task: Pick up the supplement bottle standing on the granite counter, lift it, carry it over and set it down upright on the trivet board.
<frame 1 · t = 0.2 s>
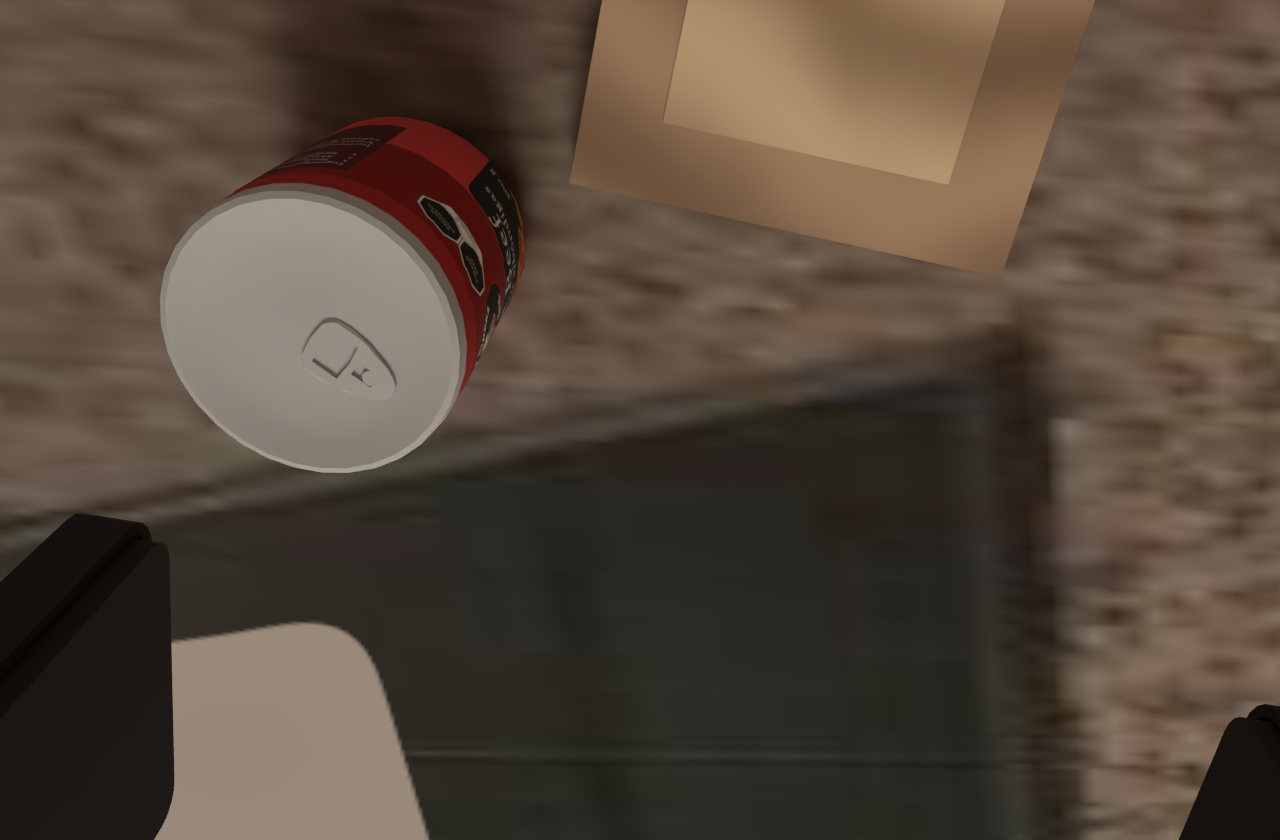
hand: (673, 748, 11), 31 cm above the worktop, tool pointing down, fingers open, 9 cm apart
canned food: (416, 226, 41), on the worktop
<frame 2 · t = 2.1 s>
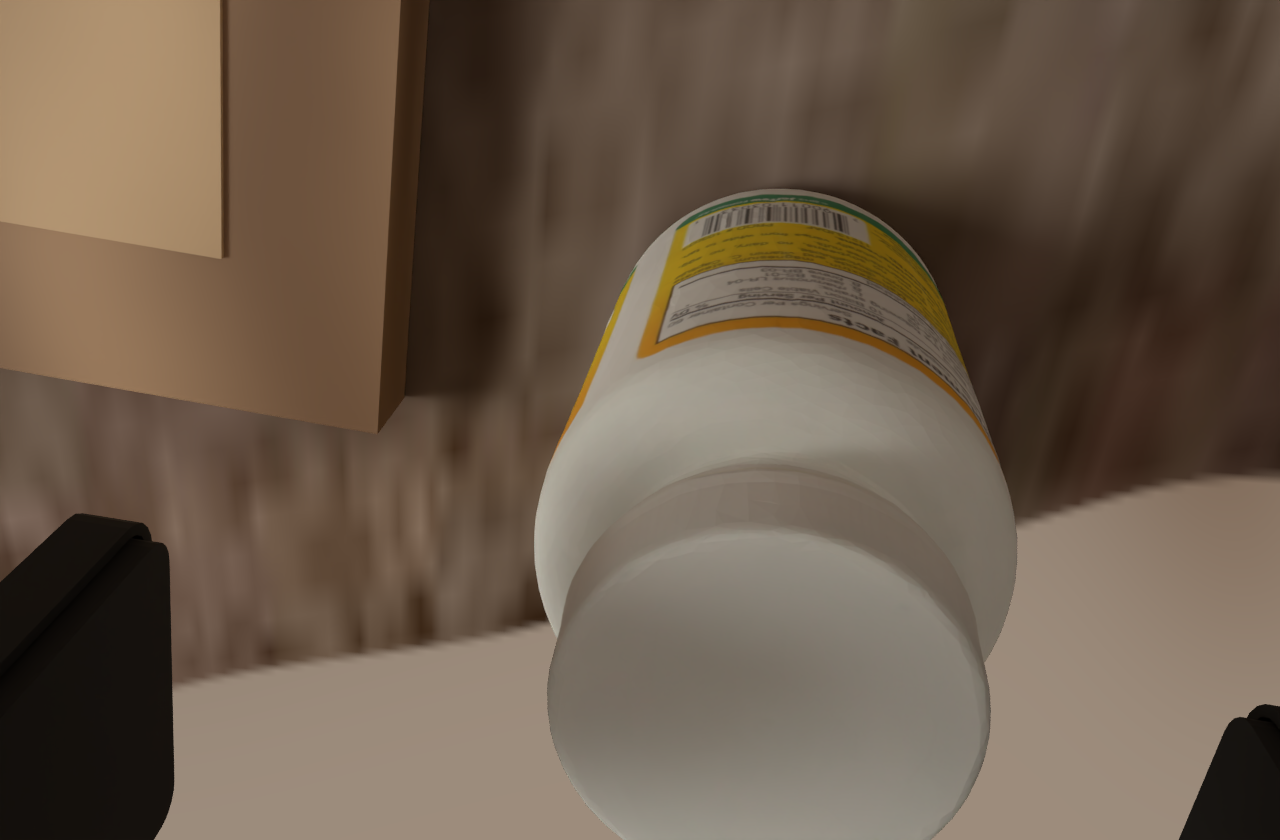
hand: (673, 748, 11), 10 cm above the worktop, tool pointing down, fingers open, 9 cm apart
supplement bottle: (775, 343, 20), on the worktop
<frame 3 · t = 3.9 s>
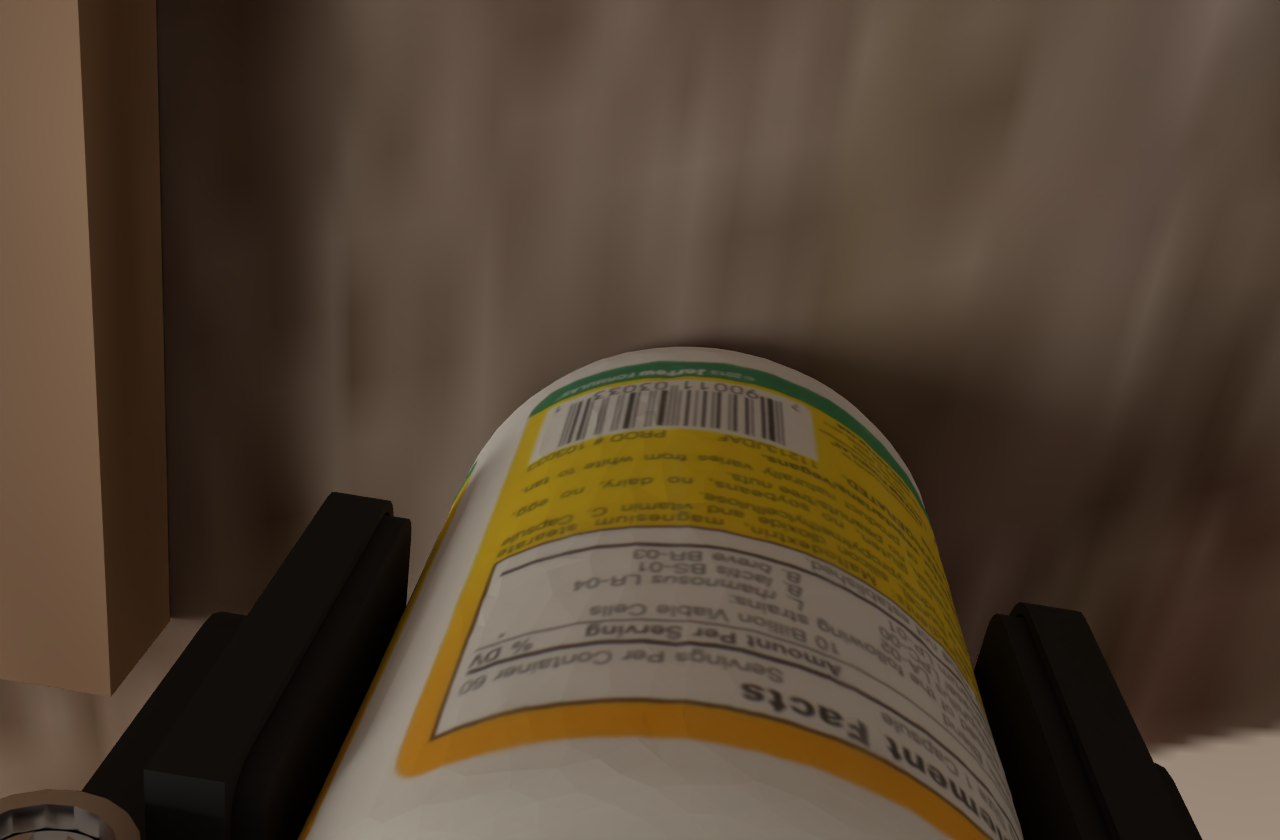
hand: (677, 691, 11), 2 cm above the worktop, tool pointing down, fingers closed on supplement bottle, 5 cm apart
supplement bottle: (687, 548, 14), on the worktop, touching gripper
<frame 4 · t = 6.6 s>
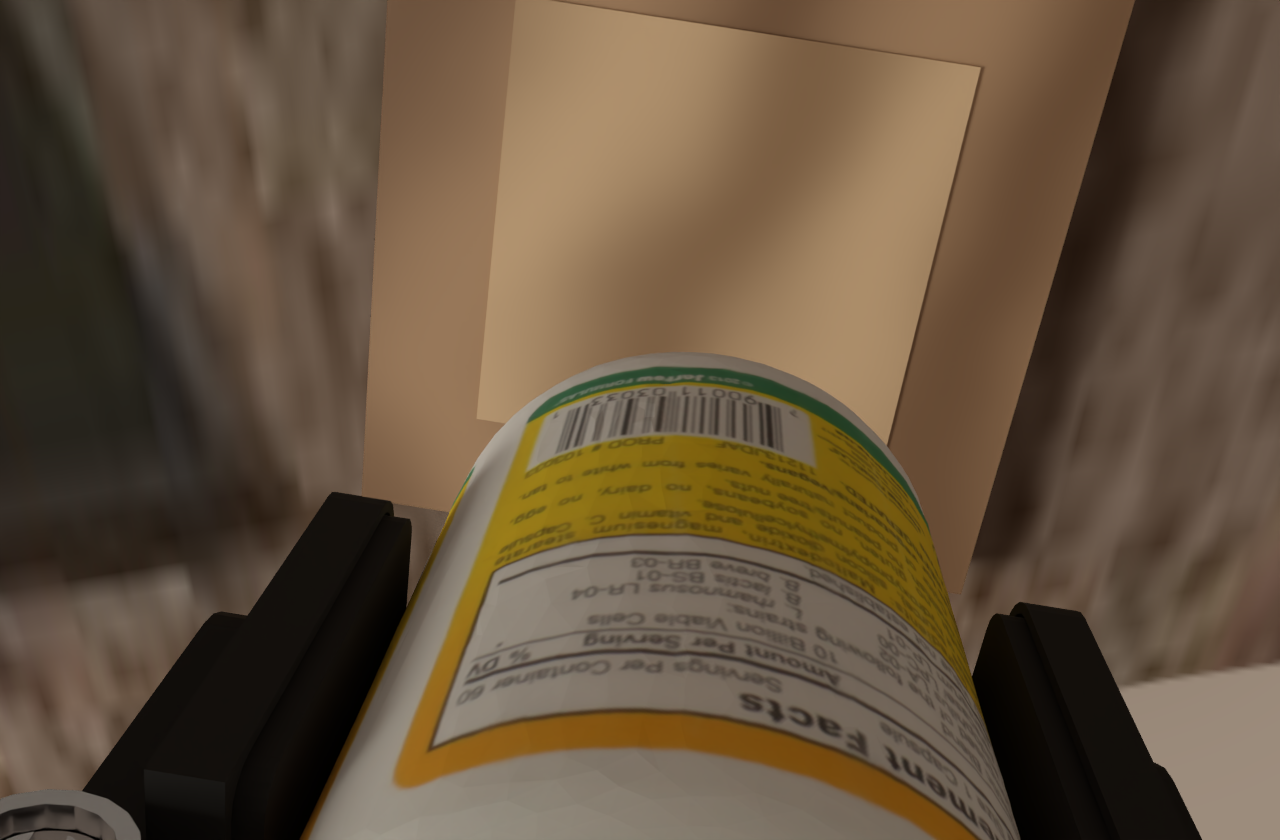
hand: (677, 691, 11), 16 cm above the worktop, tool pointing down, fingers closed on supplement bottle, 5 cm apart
supplement bottle: (686, 553, 14), point 14 cm above the worktop, touching gripper
trivet: (711, 236, 26), on the worktop
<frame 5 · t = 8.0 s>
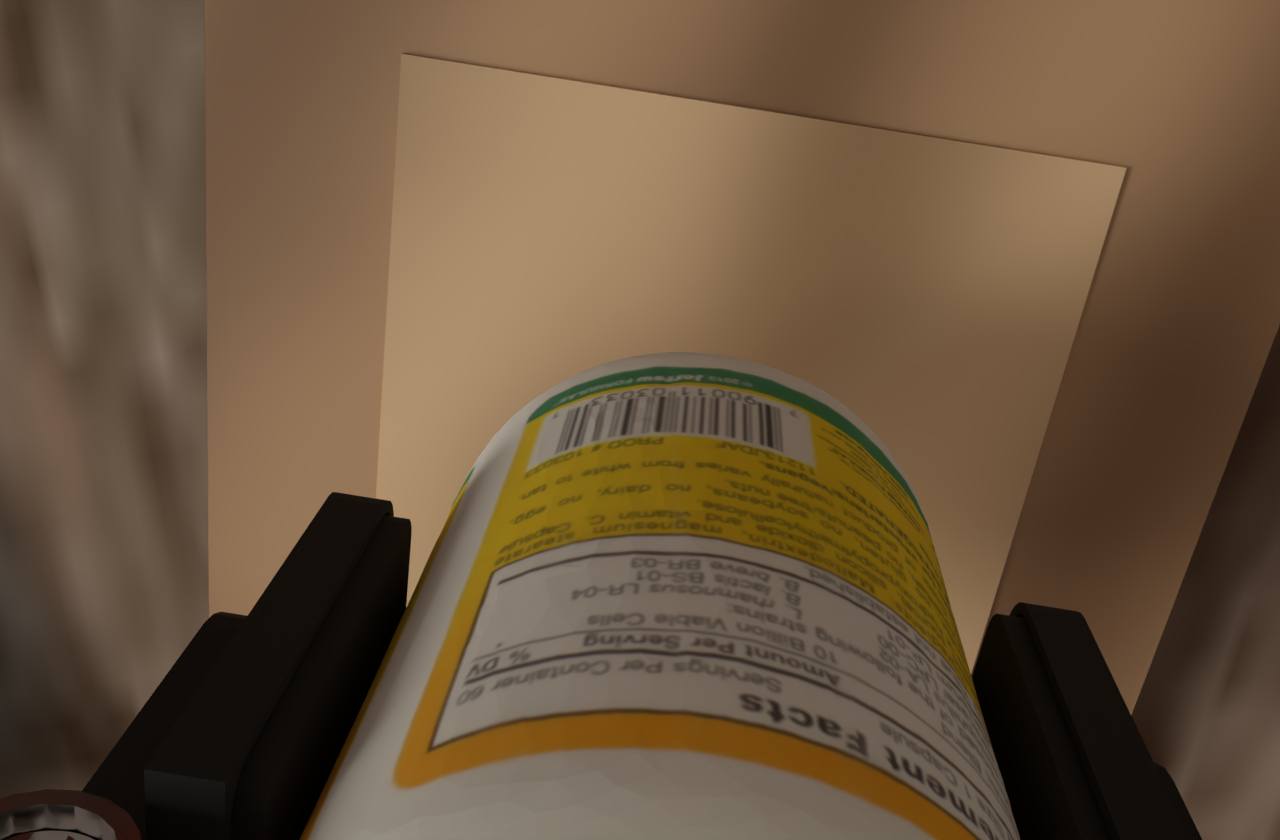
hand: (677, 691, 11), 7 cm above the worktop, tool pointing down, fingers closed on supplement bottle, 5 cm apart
supplement bottle: (685, 553, 14), point 5 cm above the worktop, touching gripper
trivet: (706, 395, 18), on the worktop
when the fingers open (5 cm above the worktop, at t = 9.3 s): supplement bottle drops 1 cm, resting on trivet.
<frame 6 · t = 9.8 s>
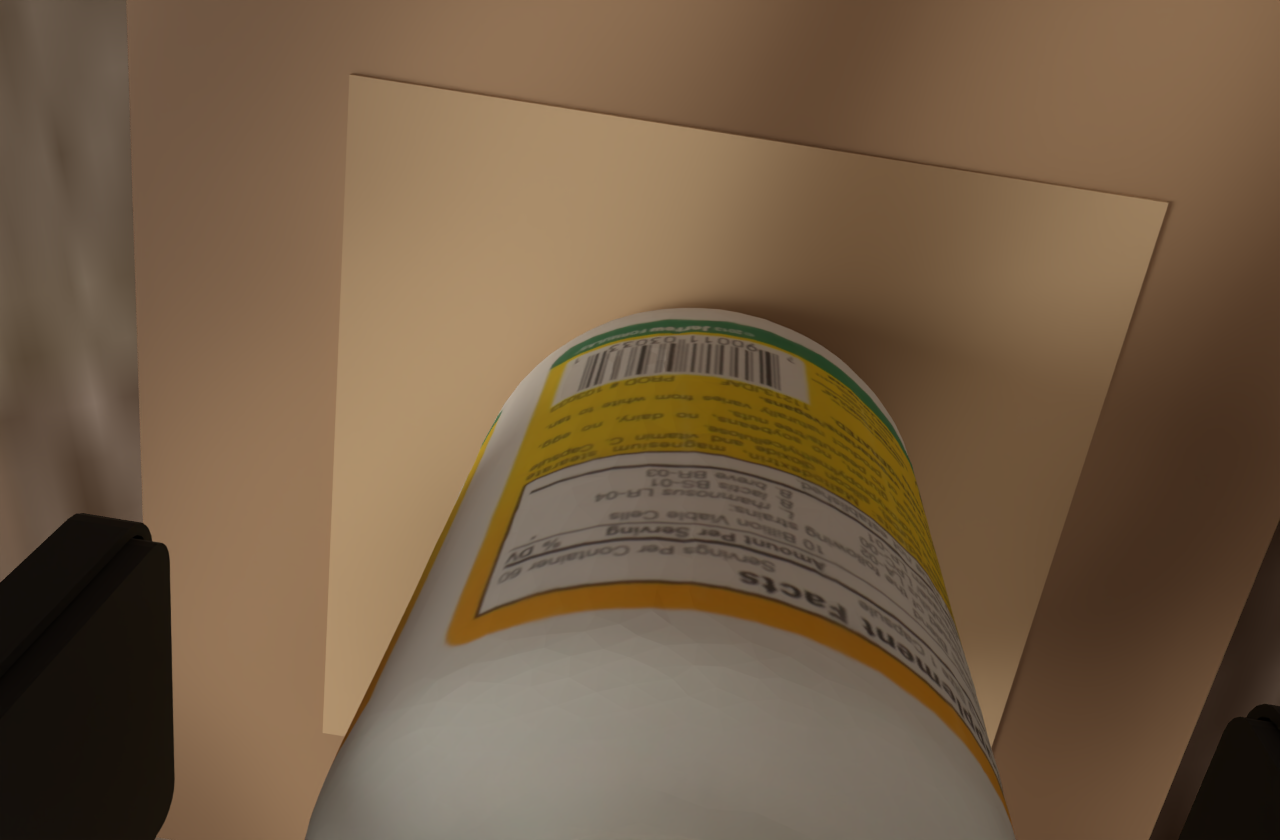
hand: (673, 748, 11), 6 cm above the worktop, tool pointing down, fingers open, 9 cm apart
supplement bottle: (692, 496, 15), point 1 cm above the worktop, touching trivet
trivet: (696, 447, 16), on the worktop
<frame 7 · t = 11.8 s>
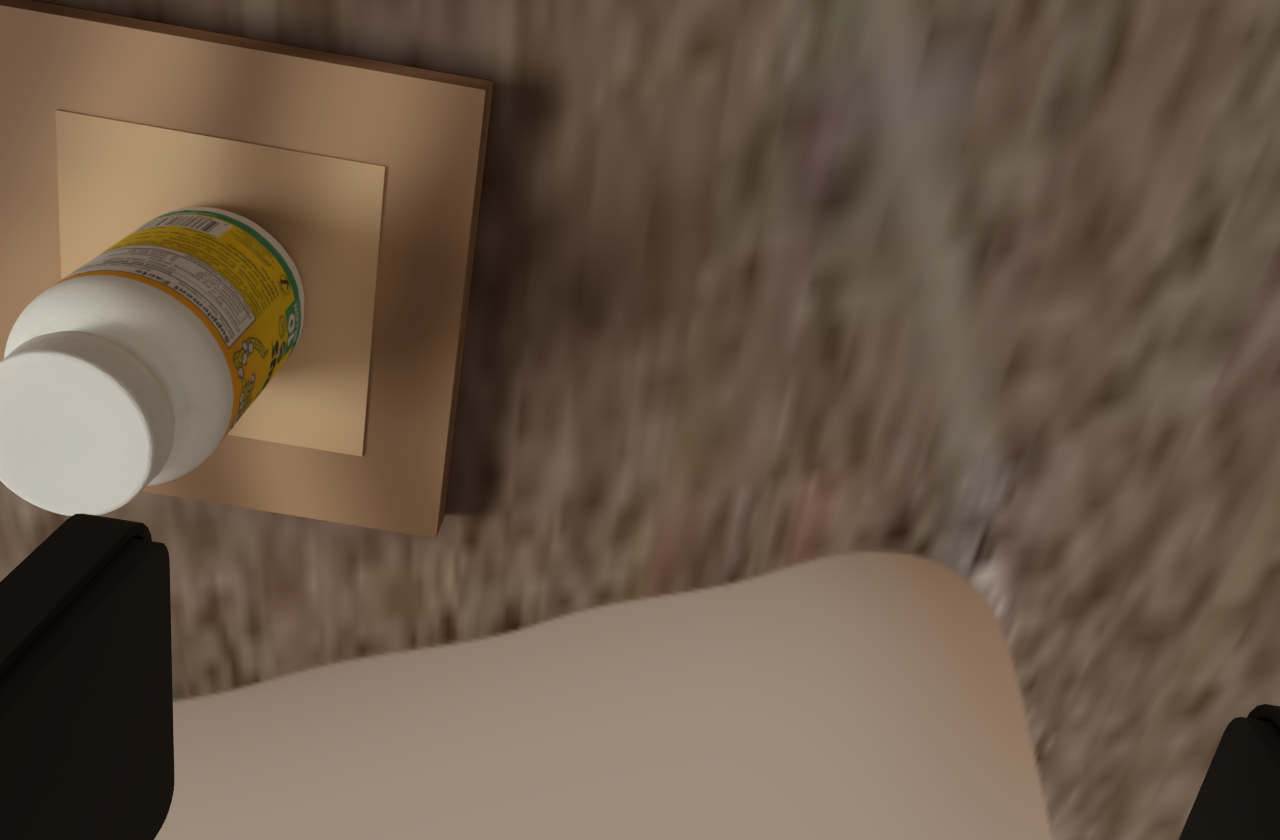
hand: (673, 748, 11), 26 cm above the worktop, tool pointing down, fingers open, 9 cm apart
supplement bottle: (220, 292, 35), point 1 cm above the worktop, touching trivet
trivet: (236, 276, 36), on the worktop
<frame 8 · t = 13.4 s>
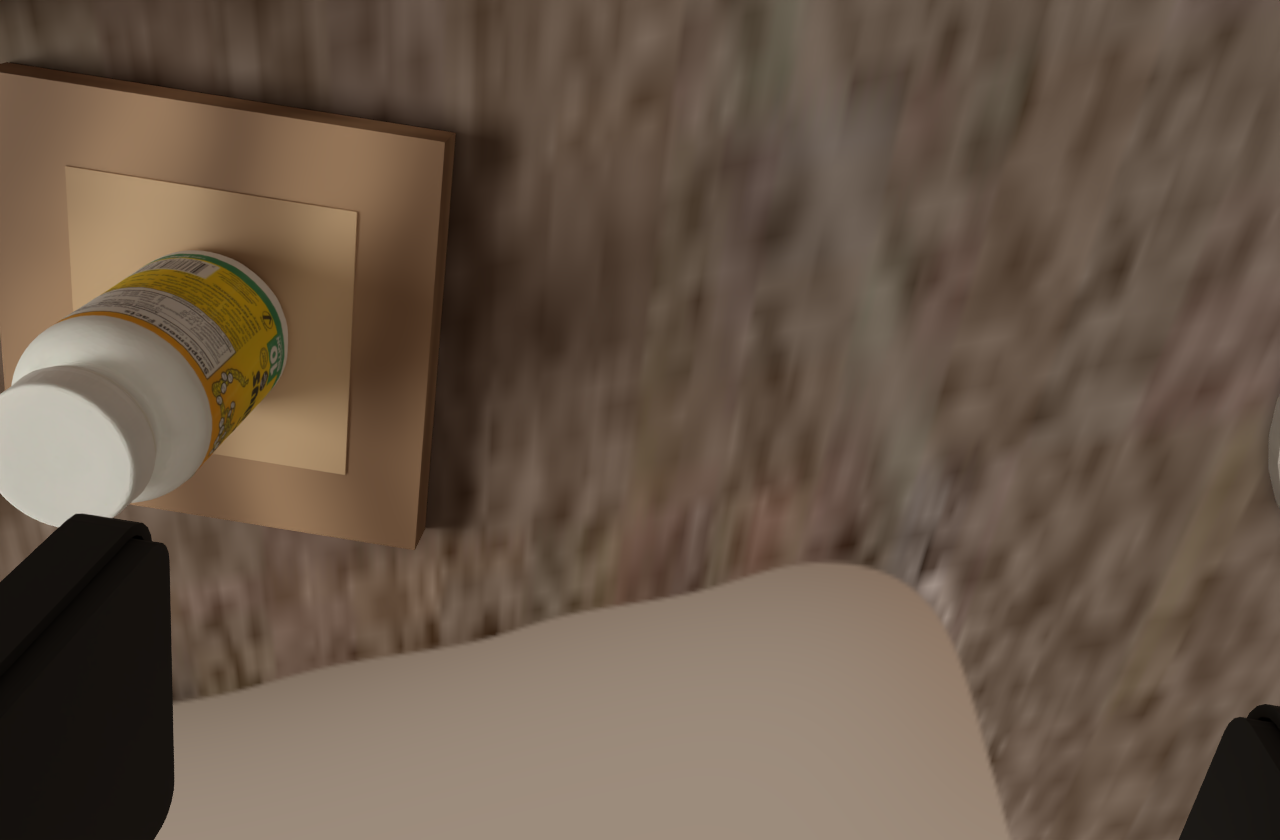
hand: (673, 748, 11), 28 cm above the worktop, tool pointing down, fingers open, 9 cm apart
supplement bottle: (213, 326, 39), point 1 cm above the worktop, touching trivet
trivet: (230, 311, 40), on the worktop
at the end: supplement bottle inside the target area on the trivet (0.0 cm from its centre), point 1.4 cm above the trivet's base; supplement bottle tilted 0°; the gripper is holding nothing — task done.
